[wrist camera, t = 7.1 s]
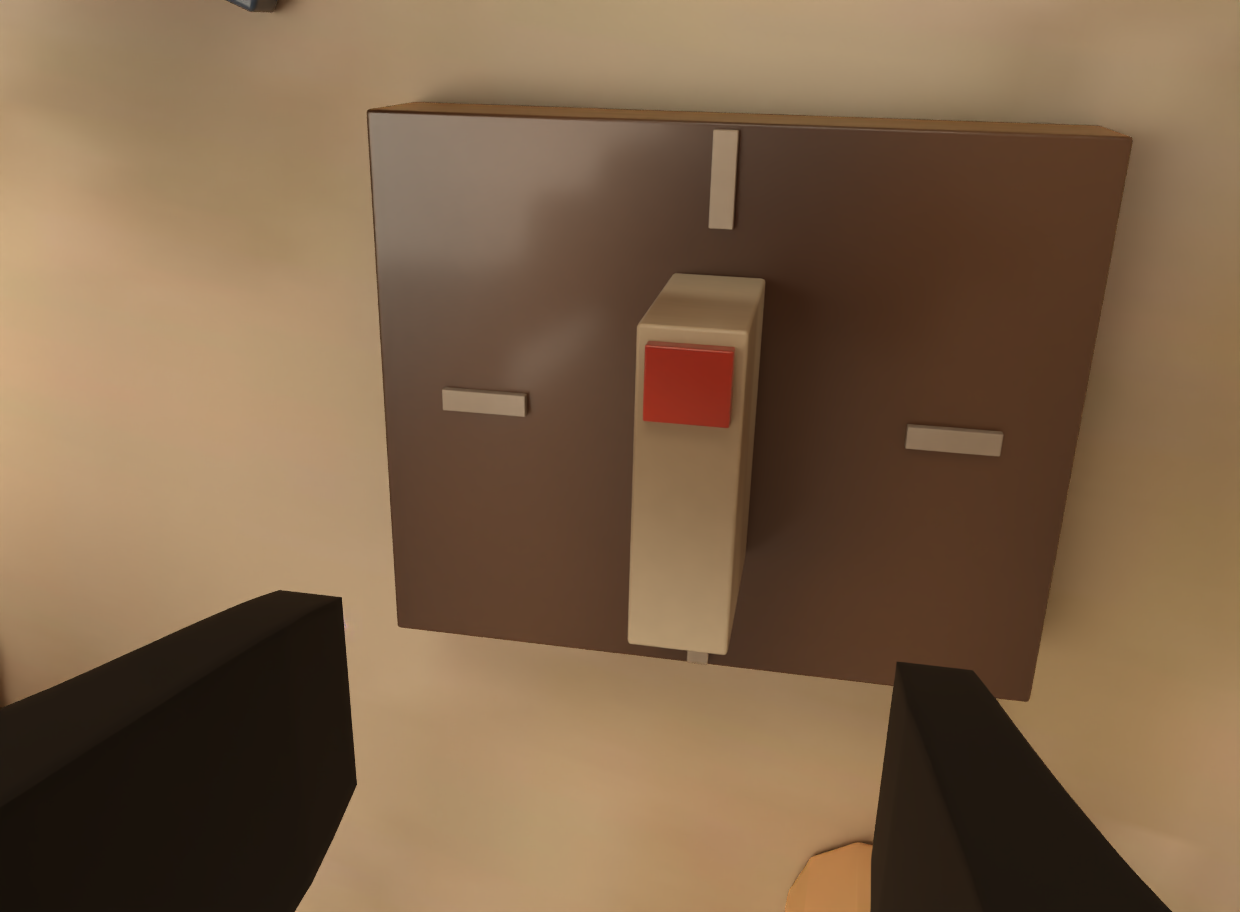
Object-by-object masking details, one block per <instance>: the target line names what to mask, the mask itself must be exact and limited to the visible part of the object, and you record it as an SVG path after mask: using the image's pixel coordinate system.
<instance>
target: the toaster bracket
mask: <svg viewBox="0 0 1240 912" xmlns="http://www.w3.org/2000/svg"><path fill="white" fill-rule="evenodd" d="M226 1H228V2H230V3H233V4H235V5H237V6H239V7H241V8H243V9H245V10H247V11H250V12H273V11H274V10H275V8H276V4H277V0H226Z"/></svg>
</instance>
